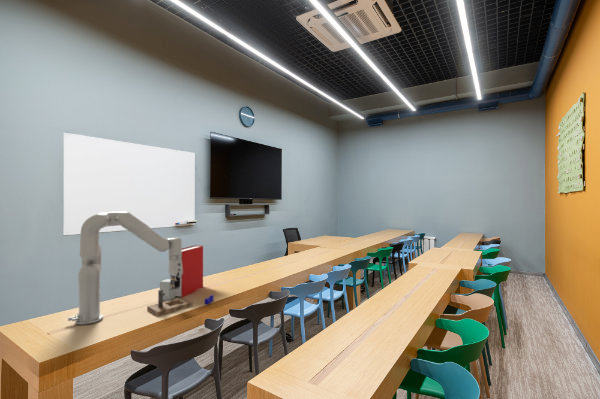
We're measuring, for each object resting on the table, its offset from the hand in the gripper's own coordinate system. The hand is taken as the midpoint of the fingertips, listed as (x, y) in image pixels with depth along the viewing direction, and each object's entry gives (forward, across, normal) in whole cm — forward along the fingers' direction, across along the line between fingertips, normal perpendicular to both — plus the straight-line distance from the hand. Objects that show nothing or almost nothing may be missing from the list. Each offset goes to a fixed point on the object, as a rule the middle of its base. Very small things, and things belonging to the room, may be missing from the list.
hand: (175, 285), depth 188 cm
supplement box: (+13, +19, -4) cm, 24 cm away
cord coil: (+1, 0, 0) cm, 1 cm away
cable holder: (+14, -8, -18) cm, 24 cm away
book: (+14, +24, -22) cm, 35 cm away
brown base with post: (+13, 0, +3) cm, 14 cm away
